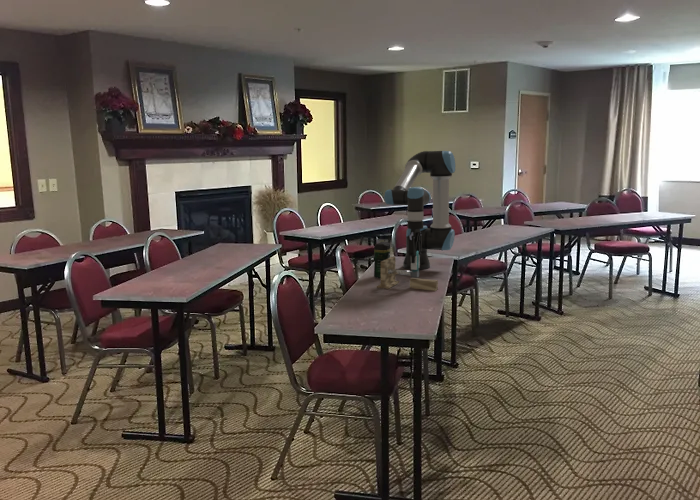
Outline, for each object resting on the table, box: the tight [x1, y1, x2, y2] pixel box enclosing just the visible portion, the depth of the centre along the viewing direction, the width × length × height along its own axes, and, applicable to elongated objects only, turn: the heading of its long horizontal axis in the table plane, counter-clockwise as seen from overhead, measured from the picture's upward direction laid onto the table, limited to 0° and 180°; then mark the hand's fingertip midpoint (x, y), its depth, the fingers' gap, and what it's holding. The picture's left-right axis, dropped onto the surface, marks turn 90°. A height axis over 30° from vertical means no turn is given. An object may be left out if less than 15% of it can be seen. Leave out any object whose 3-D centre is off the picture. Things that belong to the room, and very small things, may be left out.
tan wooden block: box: [376, 256, 400, 290], centre depth 286 cm, size 14×6×13 cm, turn 153°
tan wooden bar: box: [409, 277, 439, 292], centre depth 279 cm, size 3×13×4 cm, turn 63°
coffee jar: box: [373, 241, 391, 279], centre depth 304 cm, size 10×8×19 cm
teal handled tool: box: [388, 251, 420, 278], centre depth 282 cm, size 3×18×13 cm, turn 63°
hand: (415, 268), depth 280 cm, fingers closed on teal handled tool, 3 cm apart
